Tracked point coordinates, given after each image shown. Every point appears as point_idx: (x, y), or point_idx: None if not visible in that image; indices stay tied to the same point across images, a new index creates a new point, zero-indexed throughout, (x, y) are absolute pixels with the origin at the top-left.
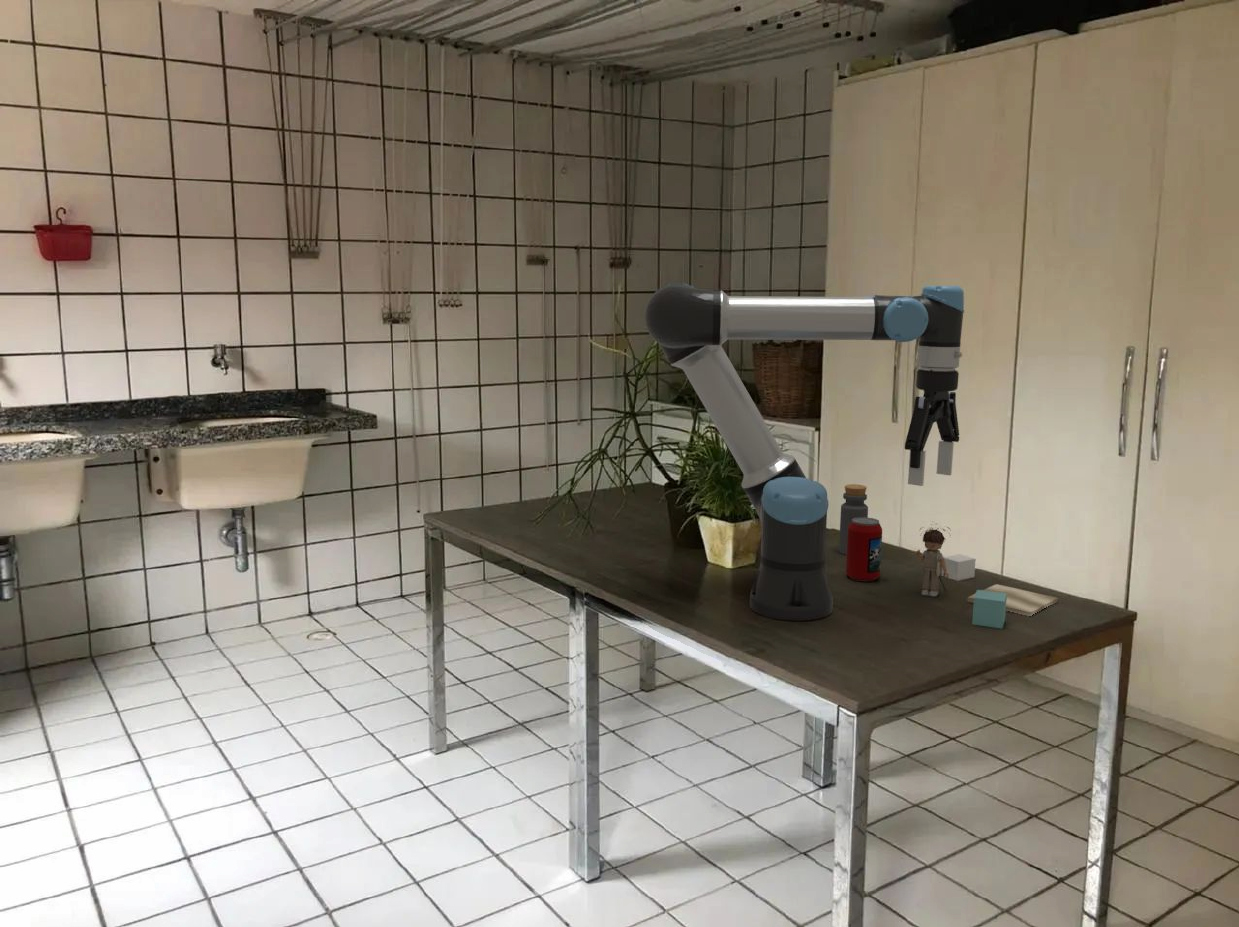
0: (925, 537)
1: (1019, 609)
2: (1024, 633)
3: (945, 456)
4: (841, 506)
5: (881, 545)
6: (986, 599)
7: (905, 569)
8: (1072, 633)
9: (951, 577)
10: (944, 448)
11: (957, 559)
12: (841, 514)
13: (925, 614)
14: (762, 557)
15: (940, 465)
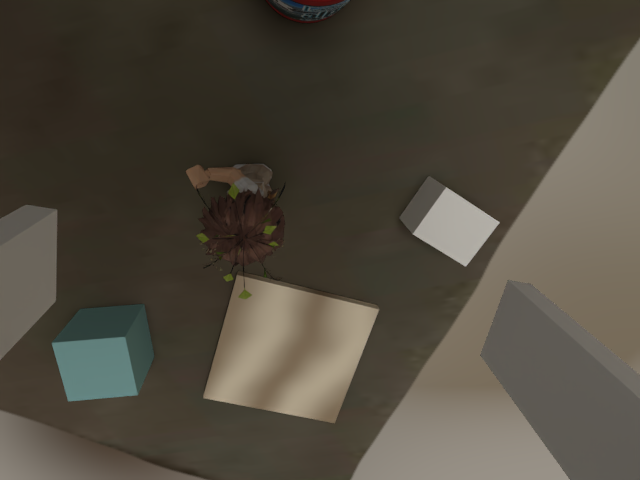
0: (214, 208)
1: (210, 378)
2: None
3: (560, 402)
4: None
5: (321, 11)
6: (59, 367)
7: (448, 71)
8: (149, 461)
9: (410, 203)
10: (609, 441)
11: (439, 226)
12: None
13: (79, 208)
14: None
15: (528, 330)
